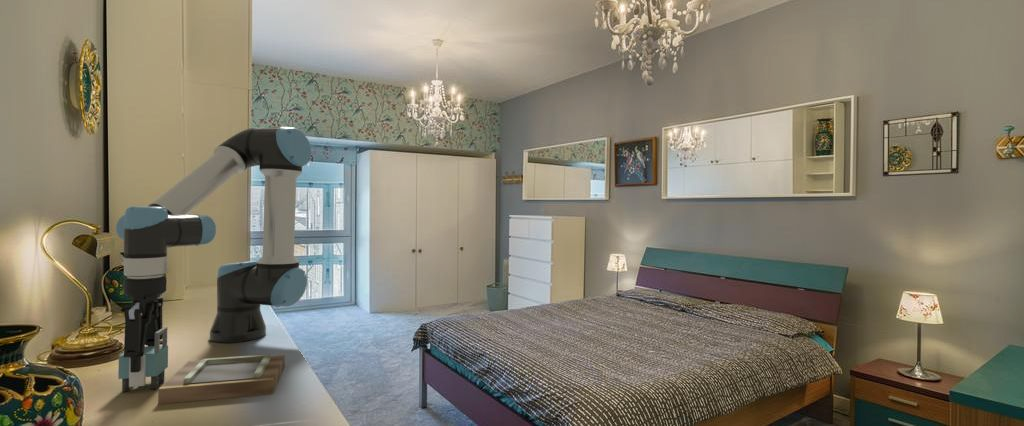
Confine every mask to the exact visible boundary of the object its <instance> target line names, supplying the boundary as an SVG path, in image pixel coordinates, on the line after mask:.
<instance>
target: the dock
mask: <svg viewBox="0 0 1024 426" xmlns="http://www.w3.org/2000/svg"><path fill="white" fill-rule="evenodd" d="M285 357H286V356H285V354H280V355H271V354H270V353H269V354H257V355H242V356H241V355H240V356H225V357H209V358H207V357H206V358H203V359H201V360H191V361H187V362H186V363H185V364H184V365H183V366H182V367H181V368H180V369H179V370H177V371H176V373H174V374H173V375H172V376H171V377H170V378H169V379H168V380H166V382H164V383H163V384H162V385H161V386H159V387H158V388H157V389H158V390H157V391H158V393H157V394H158V395H157V404H158V405H161V404H162V405H165V404H175V403H185V402H195V401H197V402H198V401H206V400H207V401H209V400H218V399H231V398H232V399H233V398H241V397H242V398H243V397H252V396H253V397H254V396H263V395H273V394H274V391H275V389H276V388H277V384H278V382H279V380H280V378H281V376H282V374H283V371H284V369H285V364H286V363H285Z"/></svg>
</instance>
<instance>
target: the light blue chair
mask: <svg viewBox="0 0 1024 426" xmlns="http://www.w3.org/2000/svg"><path fill="white" fill-rule="evenodd" d="M162 333H163V335H162V340H160V335H161V334H162ZM160 341H162V345H160ZM123 355H124V352H122V353H120V355H118V371H117V372H118V376H117V378H118V380H122V381H121V392H123V393H124V392H125V393H126V392H128V391H130V387H129V357H125V358H124V356H123ZM143 355H146V378H150V390H156V389H159V384H162V383H163V384H164V383H165V370H167V368H169V345H168V326H162V329H160V330H159V331H157V332H156V333H155V346H149V347H145V348H144V354H143Z"/></svg>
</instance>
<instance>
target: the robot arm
mask: <svg viewBox="0 0 1024 426" xmlns="http://www.w3.org/2000/svg"><path fill="white" fill-rule="evenodd" d="M311 157H312V148H311V143H310V141H309V139H308V137H307V136H306V134H305V133H304V132H303V131H302V130H301V129H299V128H297V127H292V126H291V127H290V126H284V125H283V126H271V127H268V126H267V127H259V126H258V127H249V128H247V129H244V130H242V131H239V132H238V133H235V134H234V135H232V136H230V137H229V138H228V139H226V140H224V141H223V142H222V143H221V144H219V145H218V146H217V147H216V148H215V149H213V155H211V156H210V157H209V158H208V159H206V160H205V161H204V162H203V163H201V164H200V165H198V166H197V167H196V168H195V169H194V170H192V171H191V172H189V174H187V175H186V176H185V177H183V178H182V179H181V180H179V181H178V182H177V183H176V184H174V185H173V186H172V187H170V188H169V189H168V190H166V191H165V192H164V193H162V194H161V195H160V196H159V197H158V198H156V199H155V200H153V201H152V202H151V203H150V204H148V205H147V206H146V205H145V206H143V205H141V206H139V205H137V206H133V205H132V206H128V207H127V208H126V209H125V211H124V215H122V216H120V217H119V219H118V220H117V222H116V225H115V231H116V234H117V235H118V238H120V239H121V240H122V241H123V261H121V265H122V266H123V275H124V278H123V281H122V283H123V284H122V288H123V289H122V291H123V292H122V293H123V295H124V296H125V297H126V296H127V297H131V298H132V301H131V303H130V308H129V309H125V310H124V311H123V312H124V315H123V316H124V341H123V342H124V346H123V353H124V355H123V356H124V358H125V357H129V388H133V387H144V386H146V381H147V380H146V378H147V377H146V355H143V354H144V348H145V347H149V346H155V333H156V332H157V331H159V330H160V329H162V328H163V305H164V298H163V297H158V295H162V294H164V293H165V292H166V291H167V276H166V275H165V274H166V273H168V260H167V259H168V248H172V247H174V248H175V247H189V246H192V247H193V246H201V245H206V244H209V243H211V242H213V240H214V238H215V237H216V234H217V225H216V222H215V221H214V219H213V218H211V216H208V215H205V214H198V213H195V214H190V213H191V212H193V210H194V209H195V208H197V207H199V205H200V204H202V202H204V201H205V200H207V199H208V198H209V197H210V196H211V195H212V194H213V193H215V192H216V191H217V190H218V189H219V188H220V187H221V186H222V185H224V184H225V183H226V182H227V181H228V180H230V178H232V177H233V176H234V175H238V174H242V173H243V172H244V171H246V169H249V168H251V167H256V166H257V167H258V166H259V168H258V169H259V170H258V171H260V173H261V174H262V175H263V176H264V195H263V196H264V197H263V198H264V199H263V200H264V201H263V226H262V227H263V228H262V229H263V231H262V255H261V256H260V258H259V259H258V260H249V261H241V262H232V263H225V264H224V263H223V264H221V265H220V266H219V267H218V270H217V277H216V292H217V293H216V314H215V318H214V319H213V322H212V325H211V328H210V330H209V340H210V341H211V342H215V343H224V344H225V343H226V344H227V343H240V342H247V341H252V340H255V339H260V338H262V337H265V335H266V334H267V325H266V322H265V319H264V316H263V314H262V312H261V305H262V306H272V307H277V308H278V307H279V308H280V307H291V306H294V305H295V304H297V303H298V302H299V301H300V300H301V299H302V297H303V296H304V294H305V292H306V289H307V285H308V276H307V274H306V272H305V271H304V270H303V269H302V268H300V261H299V259H298V258H297V257H296V256H295V231H296V229H295V228H296V201H297V200H296V199H297V198H296V197H297V196H296V195H297V178H298V177H299V176H301V174H302V173H303V167H304V166H306V165H307V164H308V163H309V161H310V160H311ZM162 335H163V333H162V334H161V335H160V346H162Z"/></svg>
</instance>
